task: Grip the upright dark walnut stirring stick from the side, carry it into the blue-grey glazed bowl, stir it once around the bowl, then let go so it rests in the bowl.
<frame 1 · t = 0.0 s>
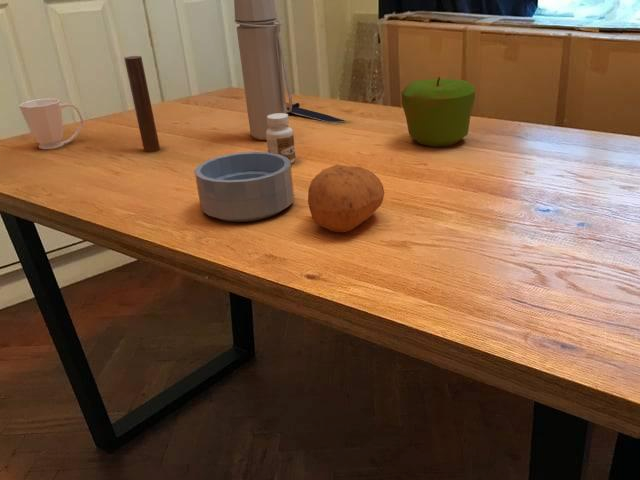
water bottle: (274, 137, 124), on the table
apple: (438, 142, 118), on the table
stick: (152, 149, 119), on the table
knife: (298, 115, 138), on the table
bowl: (248, 207, 93), on the table
pill bottle: (282, 163, 110), on the table
potato: (347, 223, 87), on the table
cup: (60, 145, 125), on the table
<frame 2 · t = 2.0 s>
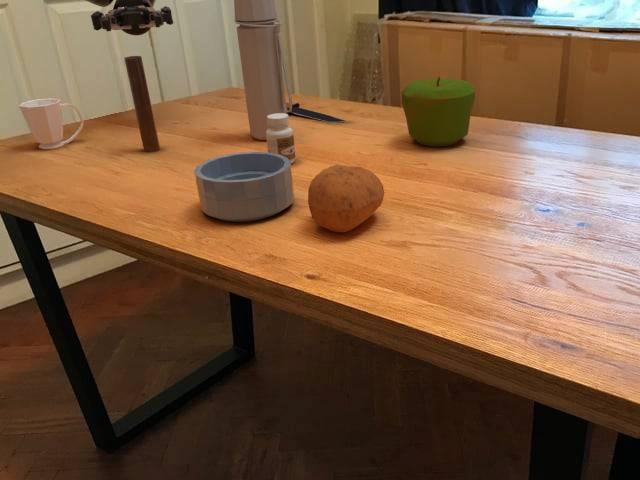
hand: (132, 23, 119), 20 cm above the table, tool horizontal, fingers open, 8 cm apart
nothing on the table moved.
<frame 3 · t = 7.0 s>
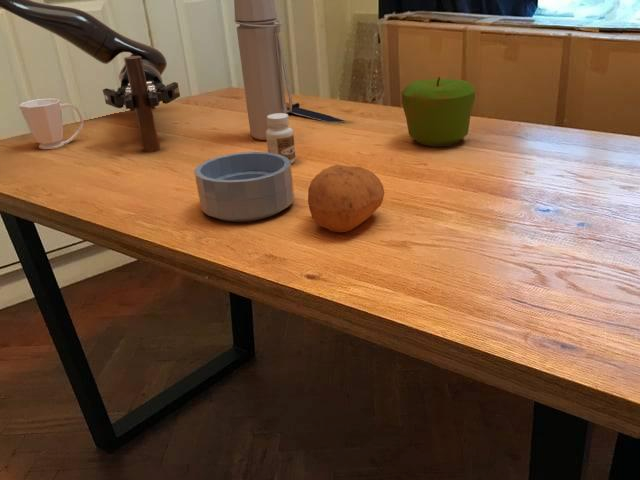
hand: (141, 103, 113), 9 cm above the table, tool horizontal, fingers closed on stick, 2 cm apart
stick: (152, 149, 119), on the table, touching gripper
everything else where it was.
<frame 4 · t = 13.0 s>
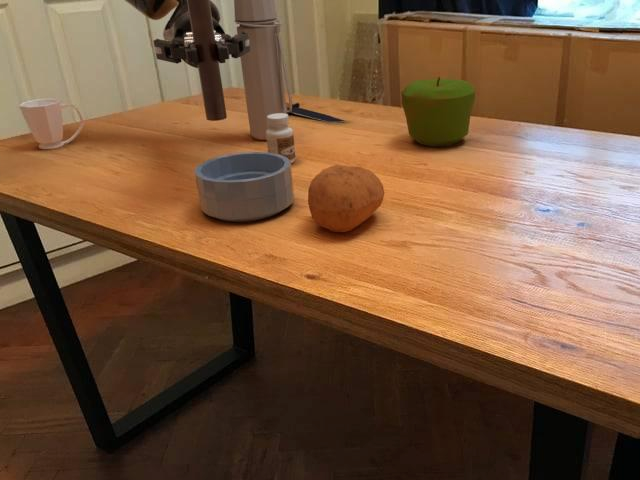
hand: (208, 55, 86), 20 cm above the table, tool horizontal, fingers closed on stick, 3 cm apart
stick: (216, 118, 92), point 11 cm above the table, touching gripper
everything else where it was.
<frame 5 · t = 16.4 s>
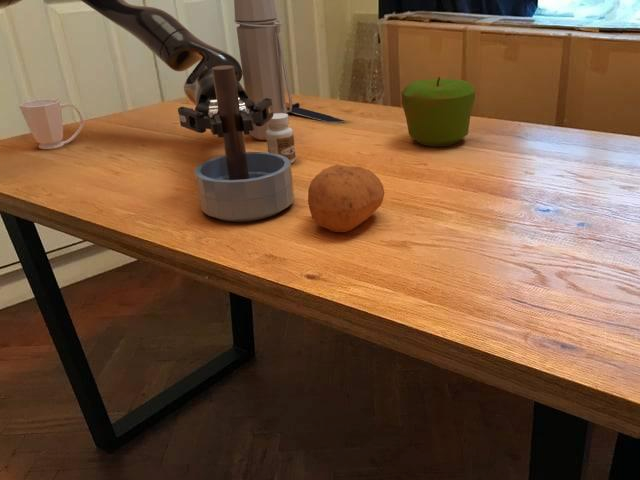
hand: (233, 128, 86), 12 cm above the table, tool horizontal, fingers closed on stick, 3 cm apart
stick: (240, 185, 93), point 3 cm above the table, touching gripper
everything else where it was.
when the fingers open (10 cm above the table, at t = 18.9 s): stick stays where it is, resting on bowl.
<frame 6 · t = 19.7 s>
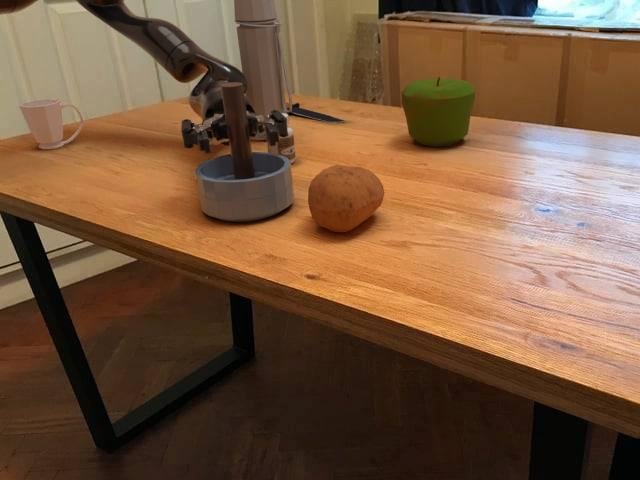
hand: (240, 142, 86), 10 cm above the table, tool horizontal, fingers open, 8 cm apart
stick: (248, 201, 92), point 1 cm above the table, touching bowl
everything else where it was.
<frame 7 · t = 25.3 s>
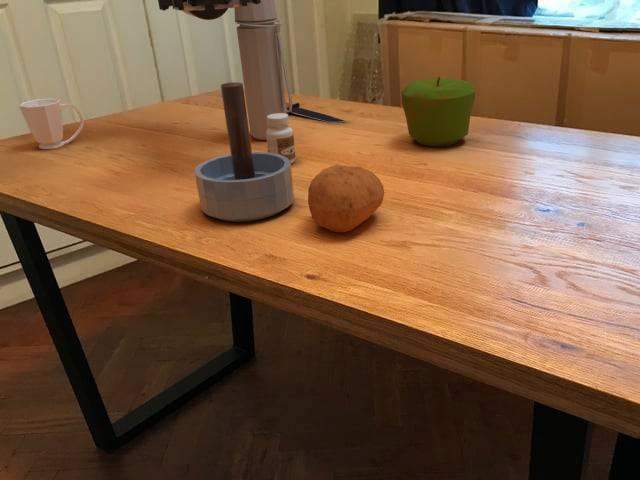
nothing on the table moved.
at the end: stick inside the target area in the bowl (0.1 cm from its centre), point 0.8 cm above the bowl's base; the gripper is holding nothing; stick touching bowl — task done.
